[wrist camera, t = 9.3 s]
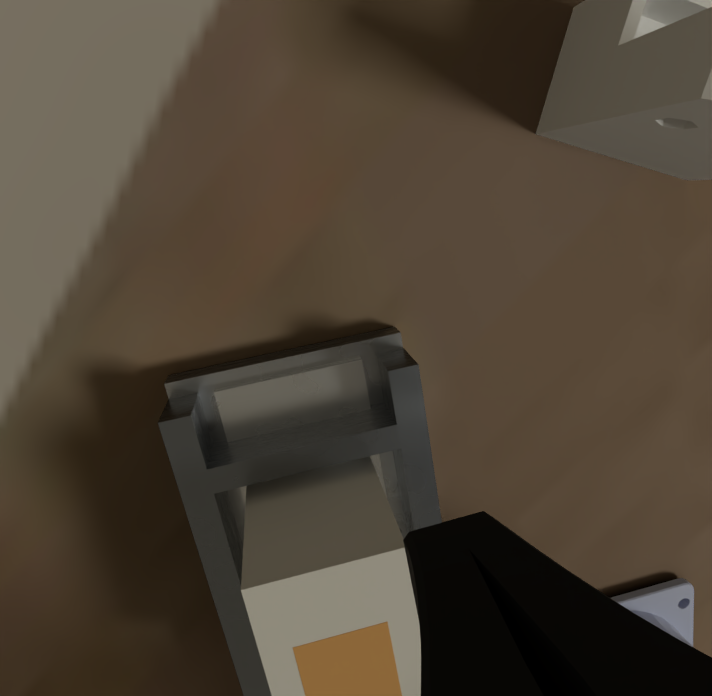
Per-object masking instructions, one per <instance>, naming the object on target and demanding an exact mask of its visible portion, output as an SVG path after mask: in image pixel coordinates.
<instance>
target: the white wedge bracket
mask: <svg viewBox="0 0 712 696" xmlns="http://www.w3.org/2000/svg"><path fill="white" fill-rule="evenodd" d="M536 134H537V135H540V136H543V137H547V138H550V139H553V140H556V141H560V142H563V143H566V144H569V145H573V146H576V147H579V148H583V149H586V150H589V151H592V152H596V153H599V154H602V155H605V156H609V157H612V158H615V159H619V160H622V161H625V162H628V163H632V164H635V165H638V166H641V167H645V168H648V169H651V170H654V171H658V172H661V173H664V174H668V175H671V176H674V177H677V178H681V179H684V180H712V0H585V1H583V2H581V3H580V4H578V5H576V6H575V7H574V8H573V11H572V14H571V18H570V21H569V24H568V28H567V31H566V34H565V38H564V41H563V44H562V48H561V51H560V54H559V58H558V61H557V64H556V68H555V71H554V74H553V78H552V81H551V84H550V88H549V91H548V94H547V98H546V101H545V104H544V108H543V111H542V114H541V118H540V121H539V124H538V128H537V131H536Z"/></svg>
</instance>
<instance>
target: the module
mask: <svg viewBox="0 0 712 696" xmlns="http://www.w3.org/2000/svg"><path fill="white" fill-rule="evenodd" d="M241 593H242V596H243V599H244V603H245V606H246V610H247V613H248V616H249V620H250V623H251V627H252V630H253V634H254V637H255V640H256V644H257V647H258V651H259V654H260V657H261V661H262V664H263V668H264V671H265V675H266V678H267V681H268V685H269V688H270V692H271V695H272V696H421V640H420V625H419V619H418V614H417V609H416V603H415V598H414V593H413V588H412V583H411V578H410V573H409V567H408V562H407V557H406V552H405V547H404V542H403V536H402V534H401V531H400V529H399V527H398V524H397V522H396V519H395V517H394V514H393V512H392V509H391V507H390V504H389V502H388V499H387V497H386V495H385V492H384V490H383V487H382V485H381V482H380V480H379V477H378V475H377V472H376V470H375V468H374V465H373V463H372V460H371V458H370V456H368V457H364V458H360V459H356V460H352V461H348V462H343V463H339V464H335V465H331V466H327V467H323V468H318V469H314V470H310V471H306V472H302V473H298V474H294V475H289V476H285V477H281V478H277V479H273V480H269V481H265V482H260V483H256V484H252V485H248V486H247V488H246V506H245V524H244V542H243V560H242V579H241Z"/></svg>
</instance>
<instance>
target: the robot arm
mask: <svg viewBox="0 0 712 696" xmlns="http://www.w3.org/2000/svg"><path fill="white" fill-rule="evenodd" d="M403 542H404V547H405V552H406V557H407V562H408V567H409V573H410V578H411V583H412V588H413V593H414V598H415V603H416V609H417V614H418V619H419V625H420V640H421V696H712V658H711V657H709V656H708V655H706V654H704V653H702V652H700V651H698V650H697V649H695V648H694V647H693V615H694V588H693V586H692V585H691V584H690V583H689V582H688V581H687V580H686V579H683V578H679V579H674V580H671V581H667V582H664V583H660V584H657V585H653V586H650V587H646V588H643V589H639V590H636V591H632V592H629V593H625V594H622V595H618V596H615V597H611V598H609V597H608V596H606V595H605V594H603V593H602V592H600V591H598V590H597V589H595V588H594V587H592V586H591V585H589V584H588V583H586V582H585V581H583V580H582V579H580V578H579V577H577V576H576V575H574V574H572V573H571V572H569V571H568V570H567V569H565V568H564V567H562V566H561V565H559V564H558V563H556V562H555V561H553V560H552V559H550V558H549V557H548V556H546V555H545V554H543V553H542V552H540V551H539V550H538V549H536V548H535V547H533V546H532V545H531V544H529V543H528V542H526V541H525V540H524V539H522V538H521V537H519V536H518V535H517V534H515V533H514V532H513V531H511V530H510V529H508V528H507V527H506V526H504V525H503V524H501V523H500V522H499V521H497V520H496V519H495V518H493V517H492V516H490V515H489V514H487V513H486V512H484V511H482V512H479V513H475V514H471V515H468V516H464V517H460V518H457V519H453V520H450V521H446V522H442V523H439V524H435V525H431V526H428V527H424V528H421V529H417V530H413V531H410V532H408V534H407V535H406V537H405V538H404V539H403Z"/></svg>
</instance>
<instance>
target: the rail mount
mask: <svg viewBox="0 0 712 696" xmlns="http://www.w3.org/2000/svg"><path fill="white" fill-rule="evenodd" d="M164 385H165V388H166V392H167V395H168V398H169V400H168V402H167V404H166V406H165V408H164V411H163V413H162V415H161V417H160V419H159V421H158V425H159V428H160V432H161V435H162V438H163V441H164V444H165V448H166V451H167V454H168V457H169V460H170V463H171V467H172V470H173V473H174V476H175V479H176V482H177V486H178V489H179V492H180V495H181V498H182V502H183V505H184V508H185V511H186V514H187V517H188V521H189V524H190V527H191V530H192V533H193V536H194V540H195V543H196V546H197V549H198V552H199V556H200V559H201V562H202V565H203V568H204V571H205V575H206V578H207V581H208V584H209V587H210V590H211V594H212V597H213V600H214V603H215V606H216V610H217V613H218V616H219V619H220V622H221V625H222V629H223V632H224V635H225V638H226V641H227V644H228V648H229V651H230V654H231V657H232V660H233V664H234V667H235V670H236V673H237V676H238V679H239V683H240V686H241V689H242V692H243V695H244V696H272V695H271V692H270V688H269V685H268V681H267V678H266V675H265V671H264V668H263V664H262V661H261V657H260V654H259V651H258V647H257V644H256V640H255V637H254V634H253V630H252V627H251V623H250V620H249V616H248V613H247V610H246V606H245V603H244V599H243V596H242V593H241V579H242V560H243V542H244V524H245V506H246V488H247V486H248V485H252V484H256V483H260V482H265V481H269V480H273V479H277V478H281V477H285V476H289V475H294V474H298V473H302V472H306V471H310V470H314V469H318V468H323V467H327V466H331V465H335V464H339V463H343V462H348V461H352V460H356V459H360V458H364V457H368V456H370V458H371V460H372V463H373V465H374V468H375V470H376V472H377V475H378V477H379V480H380V482H381V485H382V487H383V490H384V492H385V495H386V497H387V499H388V502H389V504H390V507H391V509H392V512H393V514H394V517H395V519H396V522H397V524H398V527H399V529H400V531H401V534H402V536H403V539H404V538H405V537H406V535H407V534H408V532H410V531H413V530H417V529H421V528H424V527H428V526H431V525H435V524H439V523H442V521H441V514H440V508H439V501H438V494H437V487H436V481H435V474H434V467H433V460H432V453H431V447H430V440H429V433H428V426H427V420H426V413H425V406H424V399H423V393H422V386H421V379H420V372H419V366H418V364H417V362H416V361H415V360H414V359H413V358H412V357H411V356H410V355H409V354H408V353H407V351H406V350H405V349H404V348H403V345H402V338H401V332H400V331H399V330H398V329H397V328H396V327H391V328H386V329H381V330H377V331H372V332H367V333H363V334H358V335H354V336H349V337H344V338H340V339H335V340H330V341H326V342H321V343H316V344H312V345H307V346H303V347H298V348H293V349H289V350H284V351H279V352H275V353H270V354H266V355H261V356H256V357H252V358H247V359H242V360H238V361H233V362H228V363H224V364H219V365H215V366H210V367H205V368H201V369H196V370H191V371H187V372H182V373H177V374H173V375H169V376H168V377H167V379H166V381H165V383H164Z"/></svg>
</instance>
